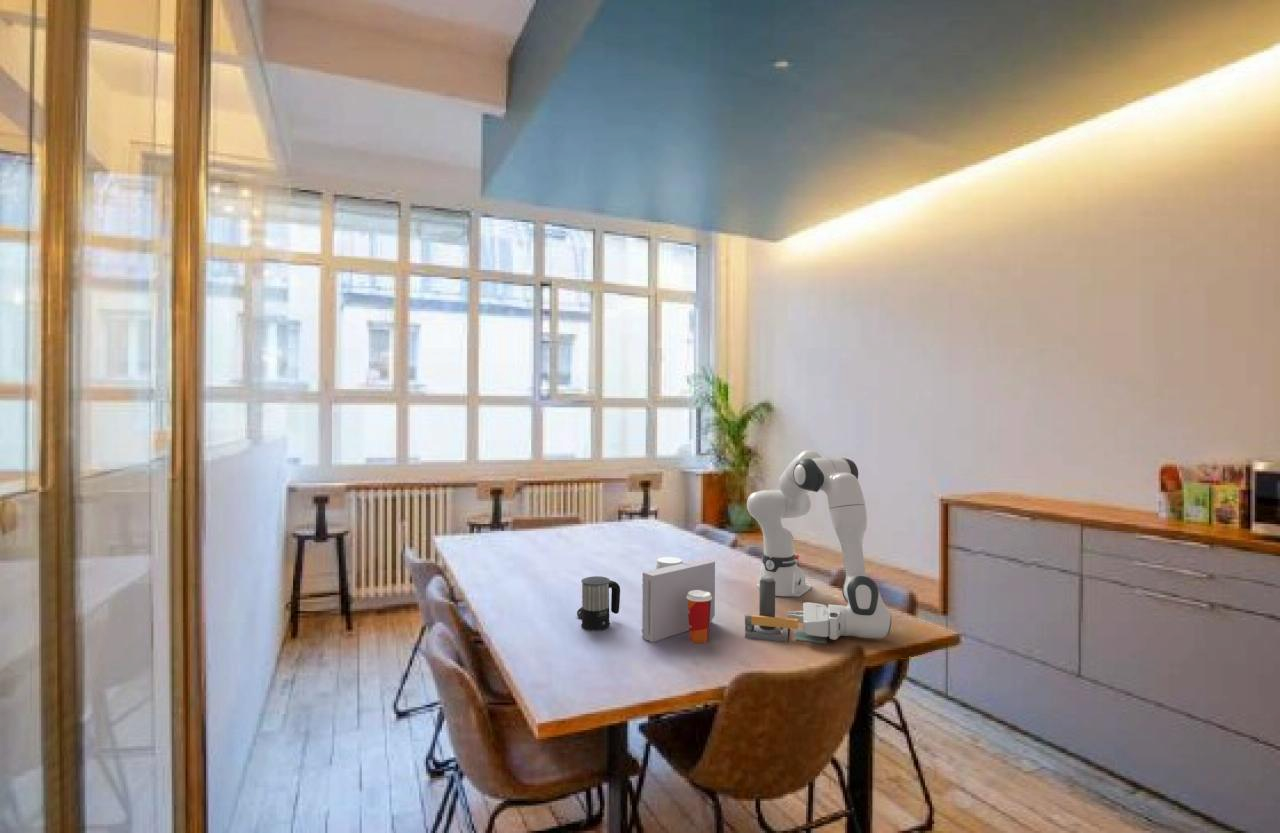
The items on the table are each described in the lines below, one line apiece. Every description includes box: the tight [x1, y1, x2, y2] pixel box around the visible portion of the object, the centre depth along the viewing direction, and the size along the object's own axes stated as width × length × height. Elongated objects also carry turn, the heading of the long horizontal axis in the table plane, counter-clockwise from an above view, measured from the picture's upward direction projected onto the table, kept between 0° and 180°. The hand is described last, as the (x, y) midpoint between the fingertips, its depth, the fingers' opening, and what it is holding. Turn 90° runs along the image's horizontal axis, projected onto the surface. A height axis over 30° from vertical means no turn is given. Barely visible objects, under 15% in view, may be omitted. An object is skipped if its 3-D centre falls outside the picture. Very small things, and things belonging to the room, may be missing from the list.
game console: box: [641, 558, 716, 643], centre depth 189 cm, size 6×27×20 cm, turn 130°
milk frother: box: [576, 575, 621, 632], centre depth 195 cm, size 14×16×15 cm
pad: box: [794, 628, 827, 644], centre depth 183 cm, size 9×9×1 cm
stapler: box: [744, 613, 799, 630], centre depth 183 cm, size 16×2×3 cm, turn 75°
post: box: [744, 623, 753, 632], centre depth 185 cm, size 2×2×3 cm
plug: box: [753, 576, 781, 635], centre depth 187 cm, size 8×8×17 cm
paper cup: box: [686, 590, 712, 644], centre depth 180 cm, size 8×8×14 cm
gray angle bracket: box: [744, 625, 789, 642], centre depth 187 cm, size 12×12×1 cm
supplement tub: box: [655, 556, 683, 569], centre depth 218 cm, size 10×10×15 cm
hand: (787, 615), depth 187 cm, fingers closed
